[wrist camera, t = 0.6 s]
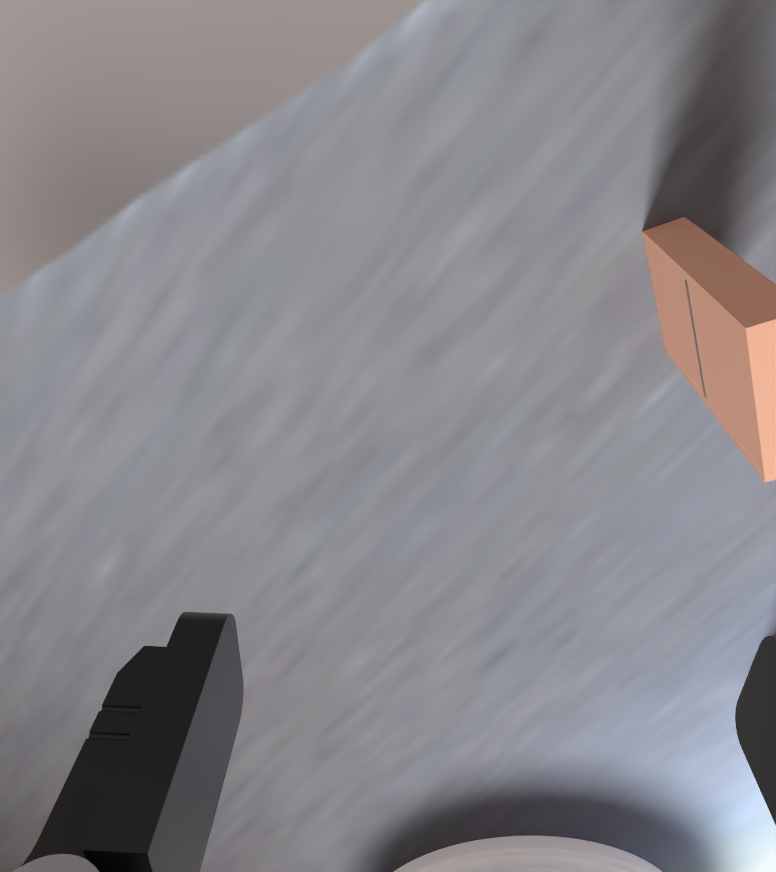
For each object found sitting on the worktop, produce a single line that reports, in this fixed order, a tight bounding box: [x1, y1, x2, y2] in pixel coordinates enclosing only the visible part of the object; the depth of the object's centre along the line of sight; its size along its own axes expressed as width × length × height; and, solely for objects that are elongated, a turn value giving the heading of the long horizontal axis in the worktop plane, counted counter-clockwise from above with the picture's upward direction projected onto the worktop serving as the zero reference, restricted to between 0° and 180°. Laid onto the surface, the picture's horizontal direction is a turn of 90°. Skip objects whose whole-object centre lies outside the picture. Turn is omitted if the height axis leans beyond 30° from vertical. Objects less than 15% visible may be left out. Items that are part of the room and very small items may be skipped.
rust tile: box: [642, 217, 776, 482], centre depth 27 cm, size 2×6×11 cm, turn 21°
